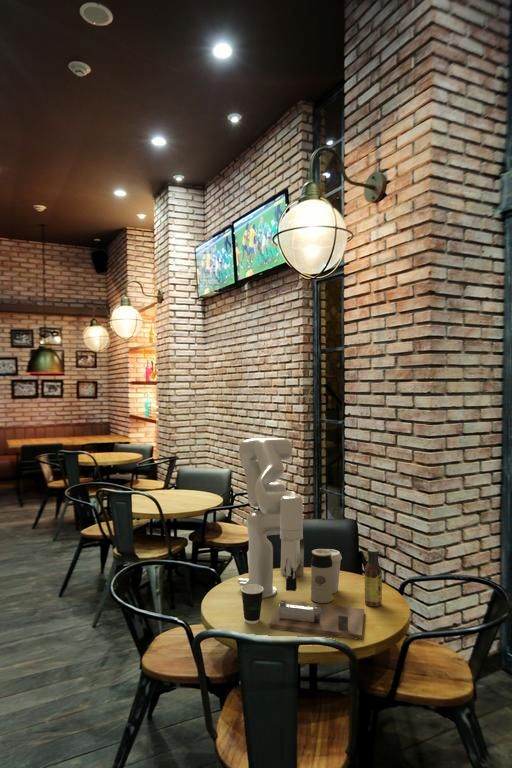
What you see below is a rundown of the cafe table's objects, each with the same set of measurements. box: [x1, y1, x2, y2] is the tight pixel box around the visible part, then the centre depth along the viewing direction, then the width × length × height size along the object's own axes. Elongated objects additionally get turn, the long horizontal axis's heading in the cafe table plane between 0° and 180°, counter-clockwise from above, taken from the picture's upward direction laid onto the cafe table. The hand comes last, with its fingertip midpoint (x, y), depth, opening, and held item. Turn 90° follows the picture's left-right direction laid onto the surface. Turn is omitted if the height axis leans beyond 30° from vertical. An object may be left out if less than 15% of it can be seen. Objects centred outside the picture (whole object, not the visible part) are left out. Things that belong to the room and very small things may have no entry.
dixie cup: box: [240, 584, 264, 625], centre depth 174 cm, size 8×8×11 cm
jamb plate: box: [268, 599, 365, 640], centre depth 174 cm, size 30×20×6 cm, turn 76°
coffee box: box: [280, 536, 305, 577], centre depth 220 cm, size 9×6×16 cm
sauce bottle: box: [364, 548, 383, 608], centre depth 188 cm, size 7×6×20 cm
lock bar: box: [279, 600, 320, 623], centre depth 171 cm, size 14×2×5 cm, turn 76°
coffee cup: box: [325, 548, 343, 594], centre depth 201 cm, size 10×10×15 cm
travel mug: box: [310, 548, 333, 604], centre depth 192 cm, size 8×8×18 cm
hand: (291, 589), depth 167 cm, fingers closed
